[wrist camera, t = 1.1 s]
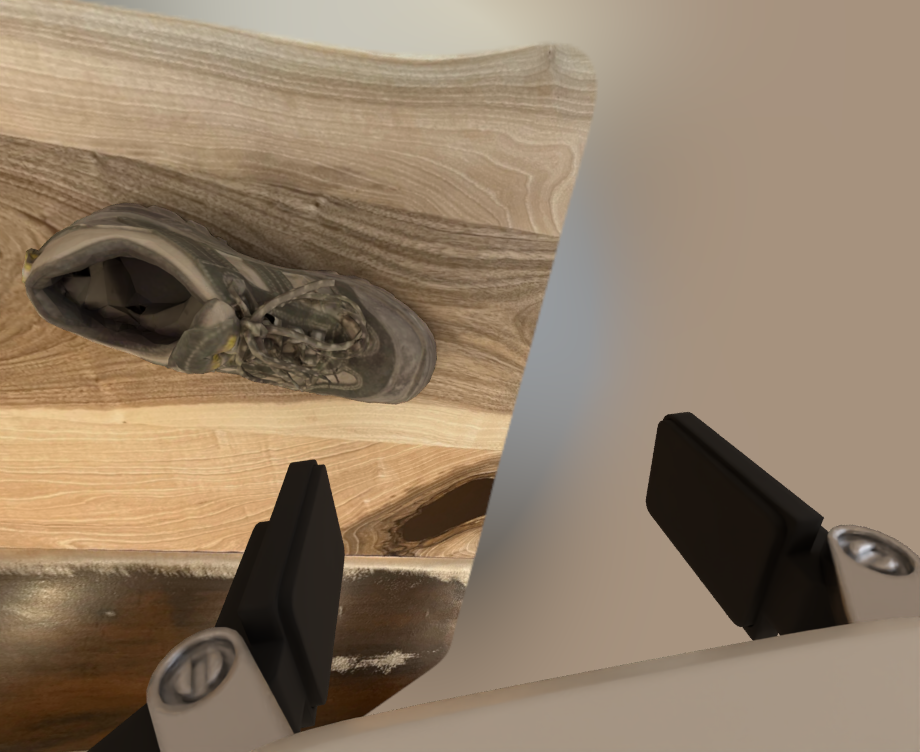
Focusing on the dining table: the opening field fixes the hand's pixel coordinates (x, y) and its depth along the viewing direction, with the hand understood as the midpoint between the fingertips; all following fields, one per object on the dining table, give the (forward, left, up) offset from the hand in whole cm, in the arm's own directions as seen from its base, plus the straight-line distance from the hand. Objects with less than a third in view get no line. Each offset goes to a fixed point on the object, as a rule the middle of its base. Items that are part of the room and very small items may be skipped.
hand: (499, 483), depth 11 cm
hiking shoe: (0, -10, -20) cm, 23 cm away
